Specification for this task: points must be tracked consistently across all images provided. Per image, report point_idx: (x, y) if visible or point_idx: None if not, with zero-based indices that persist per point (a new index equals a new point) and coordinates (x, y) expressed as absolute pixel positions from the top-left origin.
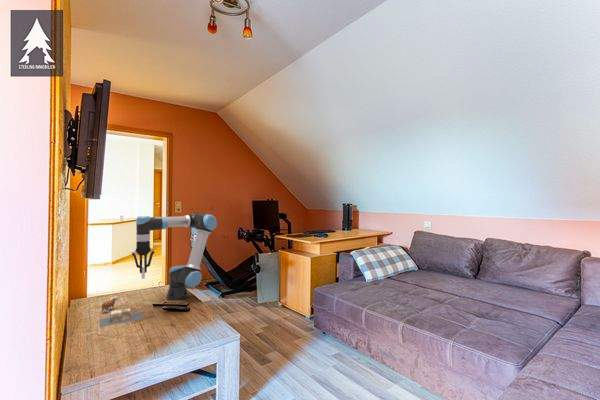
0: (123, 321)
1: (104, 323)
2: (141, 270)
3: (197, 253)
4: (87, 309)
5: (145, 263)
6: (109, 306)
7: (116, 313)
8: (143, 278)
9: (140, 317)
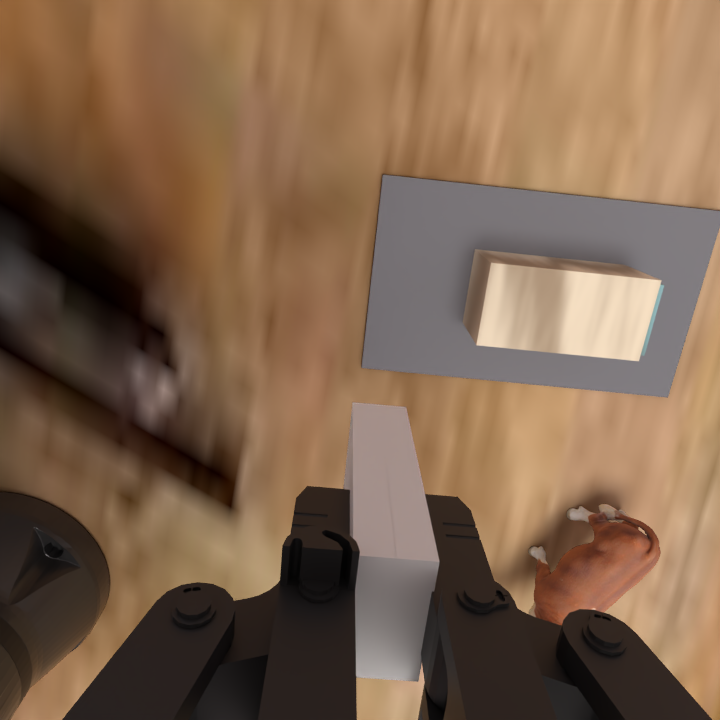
0: (536, 224)
1: (670, 274)
2: (438, 541)
3: None
4: (674, 650)
5: (318, 709)
6: (585, 544)
7: (614, 275)
8: (377, 405)
9: (392, 234)
